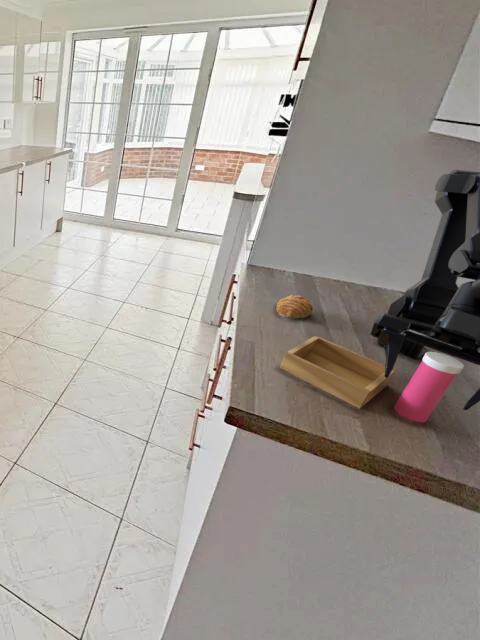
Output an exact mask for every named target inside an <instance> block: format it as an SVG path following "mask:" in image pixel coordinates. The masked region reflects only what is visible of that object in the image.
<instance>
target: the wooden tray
mask: <svg viewBox="0 0 480 640" xmlns="http://www.w3.org/2000/svg"><path fill="white" fill-rule="evenodd" d="M279 368H280V369H281V370H283V371H284V372H285V371H286V372H287V373H289V374H291V375H293V376H295V377H296V378H299V379H301V380H303V381H305V382H307V383H309V384H311V385H312V386H314V387H317V388H318V389H321V390H323V391H324V392H327V393H329V394H330V395H333V396H334V397H336V398H338V399H340V400H342V401H344V402H347V404H350V405H351V406H354V407H356V408H357V409H362V408H363V406H365V405H366V404H368V403H369V402H370V401H371V400H372V399H373V398H374V397H376V396H377V395H378V394H379V393H380V392H381V391H382V390H384V389H385V388H386V387H387V386H388V385H389V383H390V381H391V380H392V379H393V376H394V375H395V373H396V372H397V369H396V368H394V367H393V369H392V371H391V373H390V375H389V376H388V378H386V377H384V375H385V364H384V363H381V362H380V361H377V360H376V359H375V360H374V359H372V358H370V357H369V356H368V357H367V356H366V355H363V354H360V353H358V352H356V351H354V350H351V349H350V348H349V349H348V347H347V348H346V347H345V346H342V345H339V344H337V343H335V342H332V341H330V340H328V339H325V338H323V337H321V336H318V335H314V336H312V337H311V338H309V339H307V340H305V341H303V342H302V343H300V344H299V345H297V346H295V347H293V348H292V349H290V350H288V351H286V352H285V354H284V356H283V359H282V361H281V363H280V366H279Z"/></svg>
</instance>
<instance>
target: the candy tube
mask: <svg viewBox="0 0 480 640" xmlns="http://www.w3.org/2000/svg"><path fill="white" fill-rule="evenodd" d="M464 368H465V365H464V363H463V362H462V361H460V360H458V358H456V357H454V356H451V355H448V354H446V353H443V352H439V351H427V352H426V353H425V354H424V355H423V357H422V360H421V362H420V363H419V365H418V367H417V368H416V370H415V371H414V373H413V374H412V376H411V378H410V379H409V382H408V383H407V385H405V388H404V389H403V391H402V393H401V394H400V395H399V397H398V399H397V401H396V402H395V404H394V406H393V410H395V412H396V413H397V414H399V415H400V416H402V417H403V418H406V419H408V420H410V421H413V422H415V423H416V422H417V423H426V422H427V420H428V419H429V418H430V416H431V414H432V413H433V412H434V410H435V409H436V407H437V406H438V405H439V404H440V401H442V398H443V397H444V395H445V394H446V393H447V391H448V389H449V388H450V387H451V385H452V384H453V382H454V381H455V379H456V378H457V377H458V375H459V374H460V373H461V372H462V370H463V369H464Z"/></svg>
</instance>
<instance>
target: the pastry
mask: <svg viewBox="0 0 480 640" xmlns="http://www.w3.org/2000/svg"><path fill="white" fill-rule="evenodd" d="M313 312H314V308H313V305H312V303H311V301H310V299H308V298H307V297H304V296H303V295H294V294H291V295H288V296H286V297H283V298H281V299H279V301H277V303H276V313H277V314H279V315H280V316H281V317H283V318H287V319H291V320H292V319H293V320H298V319H306V318H307V317H309V315H310V314H312V313H313Z"/></svg>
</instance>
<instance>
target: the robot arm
mask: <svg viewBox="0 0 480 640" xmlns="http://www.w3.org/2000/svg"><path fill="white" fill-rule="evenodd" d="M434 191H435V192H436V194H435V199H434V203H435V205H436V206H437V208H438V210H439V212H440V213H441V217H440V219H439V222H438V225H437V230H436V232H435V234H434V235H435V236H434V239H433V242H432V245H431V248H430V251H429V255H428V257H427V259H426V264H425V267H424V270H423V273H422V275H421V279H420V280H419V281H418V282H416V283H415V284H413V285H412V286H410V287H409V288H407V289H406V290H405V292H404V294H403V295H402V296H400V297H398V298H397V299H396V300H394V301H393V302H392V303H390V305H389V308H388V310H387V313H386V312H384V313H381V314H379V315H378V316H377V318H376V319H375V320H374V323H373V325H372V329H371V332H370V335H371V336H372V337H373V338H376V339H377V344H378V345H380V346H382V347H384V354H385V355H384V356H385V364H384V365H385V375H384V377H386V378H388V376H389V375H390V373H391V371H392V369H393V368H394V367H395V365H396V361H397V359H398V356H399V354H402V355H404V356H407V357H409V358H412V359H415V360H419V359H420V358H421V357H422V356H424V355H425V354H426V352H429V351H428V350H429V349H431V350H433V351H436V352H439V353H442V354H445V355H448V356H451V357H453V358H456V359H460V360H462V361H465V362H469V363H471V364H474V365H477V366H480V171H473V170H465V169H455V168H454V169H452V170H451V171H450V172H449V173H443V174H441V175H440V176H439V178H438V179H437V181H436V183H435V187H434ZM458 278H462V279H468V280H469V281H466V282H464V283H461V284H460V285H458V283H457V282H458ZM470 280H471V281H470ZM428 348H429V349H428ZM479 403H480V387H479V388H478V389H477V390H476V391H475V392H474V394H473V395H472V396H471V397H470V398H468V400H467V401H466V402H465V404H464V406H463V408H462V410H463V411H468V410H470V409H471V408H473V407H474V406H476V405H477V404H479Z"/></svg>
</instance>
